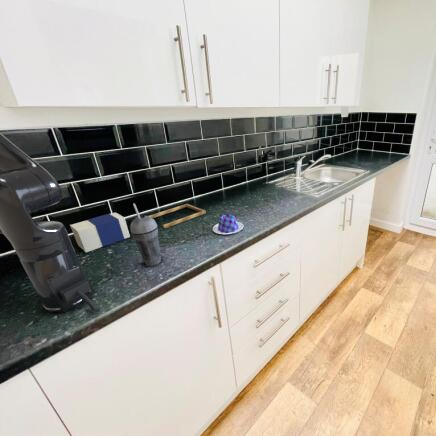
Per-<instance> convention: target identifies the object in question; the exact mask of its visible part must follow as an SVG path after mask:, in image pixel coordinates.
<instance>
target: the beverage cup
mask: <svg viewBox="0 0 436 436" xmlns="http://www.w3.org/2000/svg"><path fill="white" fill-rule="evenodd" d="M132 205H133V208H134V210H135V213H136V216H137V217H135V218H134V219H133V220H132V221H131V223H130V234H131V236H132V238H133V239H134V242H135V243H136V246H137V249H138V251H139V253H140V256H141V258H142V260H143V262H144V264H145V266H146V267H147V266H148V267H153V266H156V265H158V264H159V263H161V262H162V255H161V248H160V247H161V246H160V239H159V226H158V224H157V222H156V220H155V219H154V218H151V217H149V216H150V215H140V213H139V210H138V208H137V205H136V203H133V204H132Z"/></svg>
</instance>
